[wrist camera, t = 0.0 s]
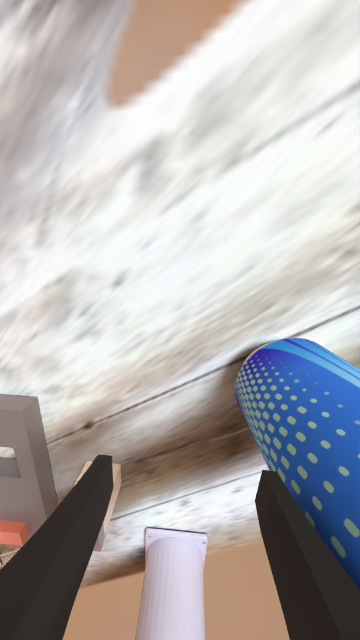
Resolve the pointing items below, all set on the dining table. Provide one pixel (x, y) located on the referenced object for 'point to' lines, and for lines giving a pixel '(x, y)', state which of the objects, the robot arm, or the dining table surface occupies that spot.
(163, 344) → the dining table surface
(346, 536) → the beer can
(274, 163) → the dining table surface
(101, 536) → the plug
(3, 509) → the power strip
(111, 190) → the dining table surface
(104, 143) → the dining table surface
